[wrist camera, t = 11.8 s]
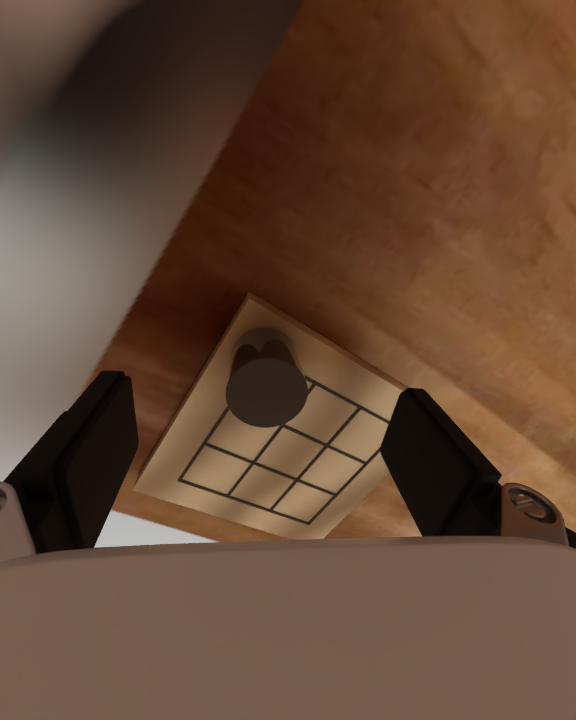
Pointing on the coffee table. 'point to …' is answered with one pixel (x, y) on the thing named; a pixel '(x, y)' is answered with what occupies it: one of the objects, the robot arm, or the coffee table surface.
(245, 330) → the board
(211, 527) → the coffee table surface
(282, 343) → the dark brown cylinder
